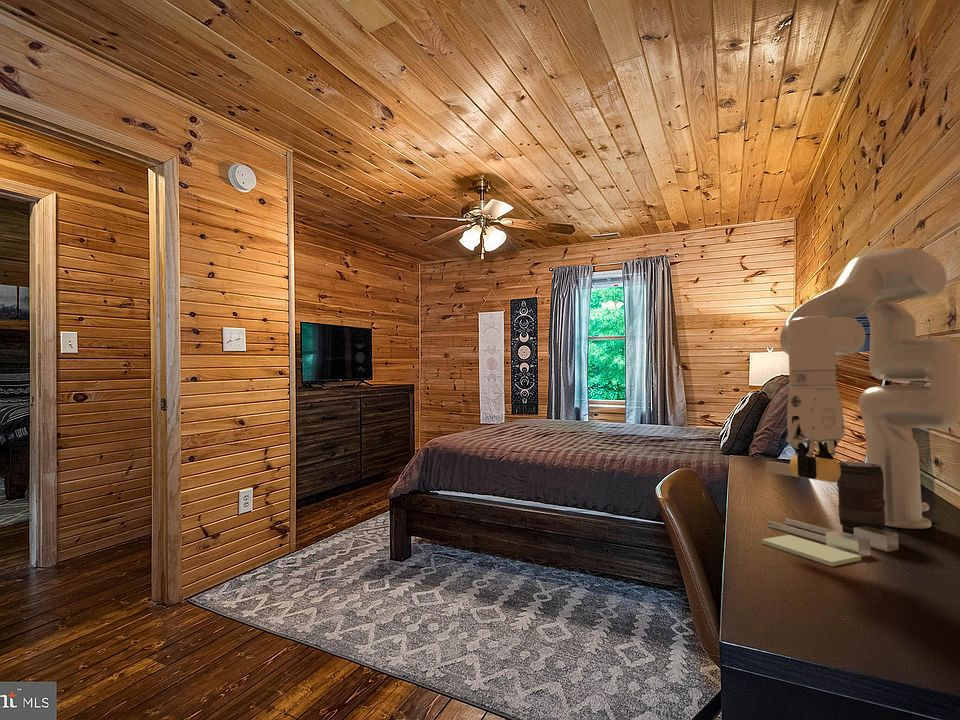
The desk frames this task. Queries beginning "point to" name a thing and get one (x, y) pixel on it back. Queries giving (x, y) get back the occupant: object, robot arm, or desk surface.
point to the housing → (844, 537)
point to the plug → (824, 469)
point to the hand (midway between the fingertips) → (816, 475)
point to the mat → (811, 550)
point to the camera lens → (861, 496)
